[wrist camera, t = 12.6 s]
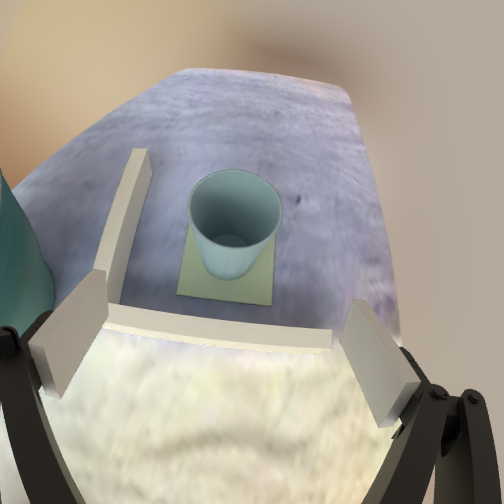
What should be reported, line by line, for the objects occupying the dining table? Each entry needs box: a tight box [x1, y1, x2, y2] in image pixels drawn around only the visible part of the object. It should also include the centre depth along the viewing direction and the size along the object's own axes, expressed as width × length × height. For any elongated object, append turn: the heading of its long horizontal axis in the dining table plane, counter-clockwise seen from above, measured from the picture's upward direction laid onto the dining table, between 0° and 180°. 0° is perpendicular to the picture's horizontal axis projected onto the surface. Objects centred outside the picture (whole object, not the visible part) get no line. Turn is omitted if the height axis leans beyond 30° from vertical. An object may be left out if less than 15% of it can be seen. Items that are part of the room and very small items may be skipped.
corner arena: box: [93, 148, 332, 355], centre depth 32 cm, size 23×20×5 cm
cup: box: [187, 169, 283, 281], centre depth 29 cm, size 8×8×10 cm
